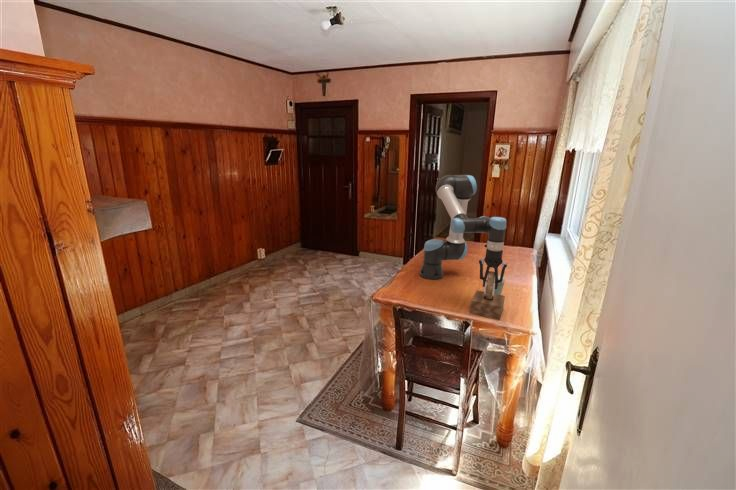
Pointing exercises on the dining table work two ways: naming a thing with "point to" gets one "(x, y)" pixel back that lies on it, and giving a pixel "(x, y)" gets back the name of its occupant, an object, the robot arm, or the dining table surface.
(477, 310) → the bore block
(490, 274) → the dowel
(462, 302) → the dining table surface
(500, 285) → the coffee cup
